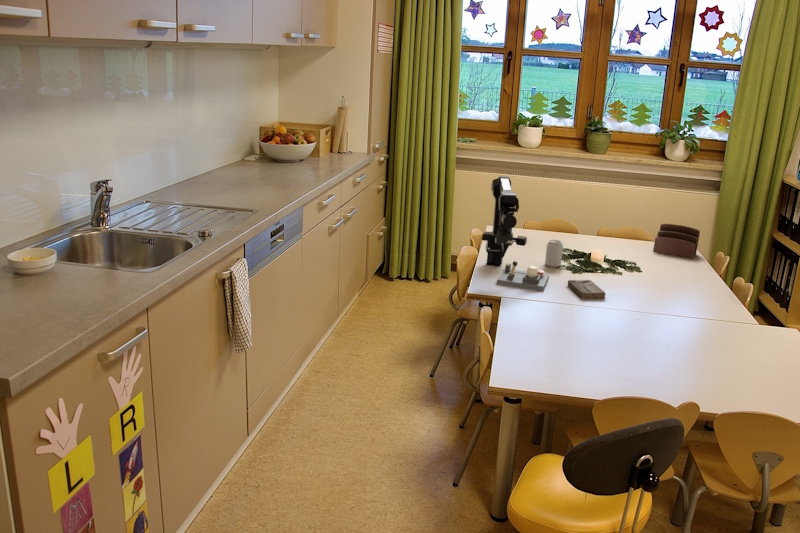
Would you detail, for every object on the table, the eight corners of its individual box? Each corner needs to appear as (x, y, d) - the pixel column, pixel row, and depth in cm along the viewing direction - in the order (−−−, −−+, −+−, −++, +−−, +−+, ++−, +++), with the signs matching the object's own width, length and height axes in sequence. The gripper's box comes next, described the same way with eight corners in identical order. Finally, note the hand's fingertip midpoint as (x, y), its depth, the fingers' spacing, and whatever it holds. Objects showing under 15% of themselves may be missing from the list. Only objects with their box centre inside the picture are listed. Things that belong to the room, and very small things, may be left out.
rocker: (527, 271, 330) (528, 267, 330) (528, 268, 334) (529, 265, 333) (542, 276, 329) (543, 273, 328) (543, 274, 332) (544, 270, 332)
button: (525, 277, 322) (526, 268, 320) (527, 274, 326) (528, 265, 324) (536, 278, 320) (537, 269, 319) (537, 275, 324) (538, 267, 323)
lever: (508, 277, 325) (512, 261, 323) (509, 275, 327) (513, 259, 325) (512, 278, 325) (517, 262, 322) (513, 277, 327) (518, 261, 324)
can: (560, 268, 350) (563, 243, 347) (544, 266, 352) (547, 242, 348) (560, 263, 358) (563, 239, 354) (544, 262, 359) (547, 238, 355)
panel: (495, 283, 324) (496, 274, 322) (503, 272, 340) (504, 263, 339) (543, 291, 318) (544, 281, 317) (548, 278, 334) (549, 269, 333)
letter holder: (657, 247, 396) (661, 221, 392) (696, 254, 387) (701, 228, 382) (652, 251, 388) (657, 225, 384) (692, 259, 378) (697, 232, 374)
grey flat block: (581, 300, 311) (582, 293, 310) (566, 286, 327) (567, 279, 326) (605, 300, 312) (606, 293, 311) (590, 286, 329) (590, 279, 328)
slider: (504, 271, 334) (505, 265, 333) (506, 269, 337) (506, 263, 336) (509, 271, 334) (510, 265, 333) (510, 270, 336) (511, 264, 335)
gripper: (480, 224, 315) (477, 259, 320) (524, 229, 310) (520, 265, 315) (486, 218, 325) (482, 252, 330) (528, 223, 320) (525, 258, 325)
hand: (502, 257), depth 325 cm, fingers closed
